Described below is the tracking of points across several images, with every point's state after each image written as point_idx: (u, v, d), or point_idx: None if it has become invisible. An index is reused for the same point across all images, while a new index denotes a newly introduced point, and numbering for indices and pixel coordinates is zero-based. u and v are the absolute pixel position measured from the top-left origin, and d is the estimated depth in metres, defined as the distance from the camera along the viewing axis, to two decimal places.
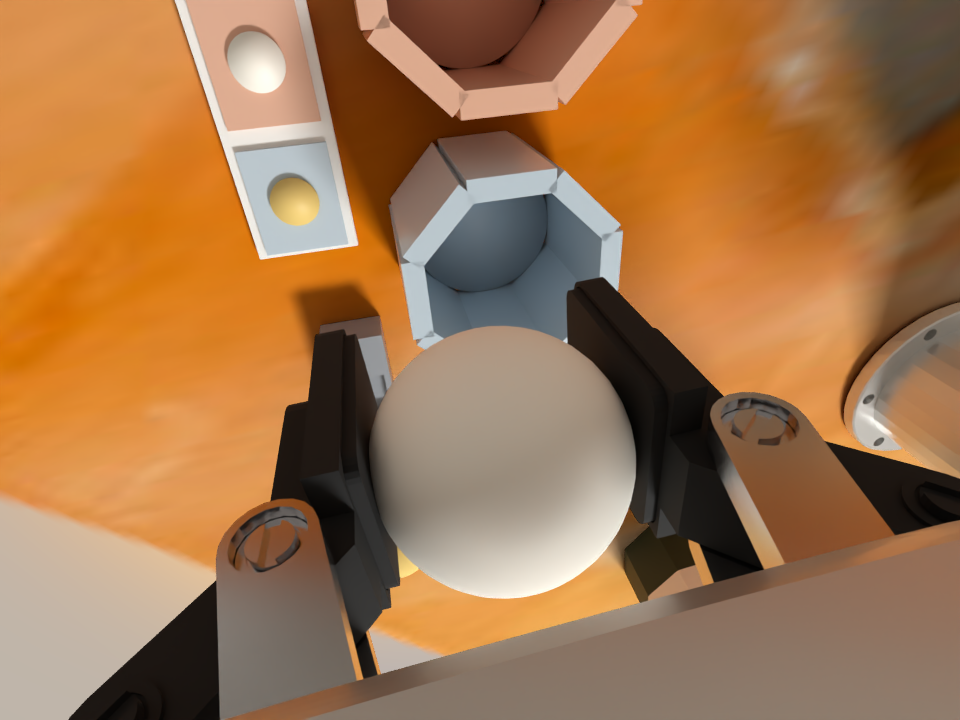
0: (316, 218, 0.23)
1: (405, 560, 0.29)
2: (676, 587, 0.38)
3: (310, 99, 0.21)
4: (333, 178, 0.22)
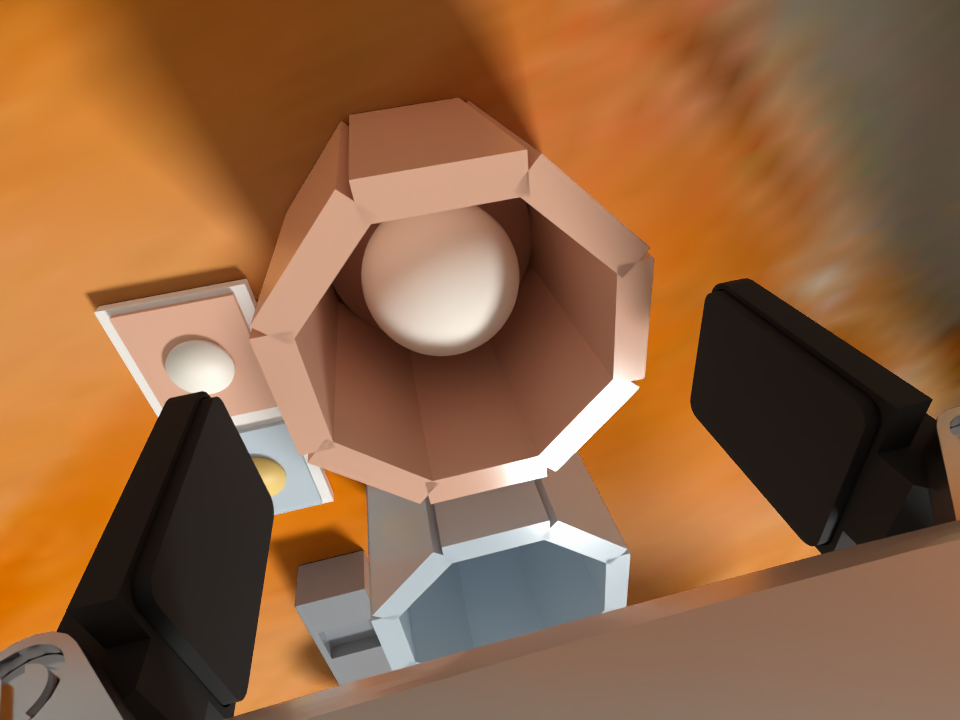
0: (283, 488, 0.20)
1: None
2: None
3: (266, 388, 0.18)
4: None
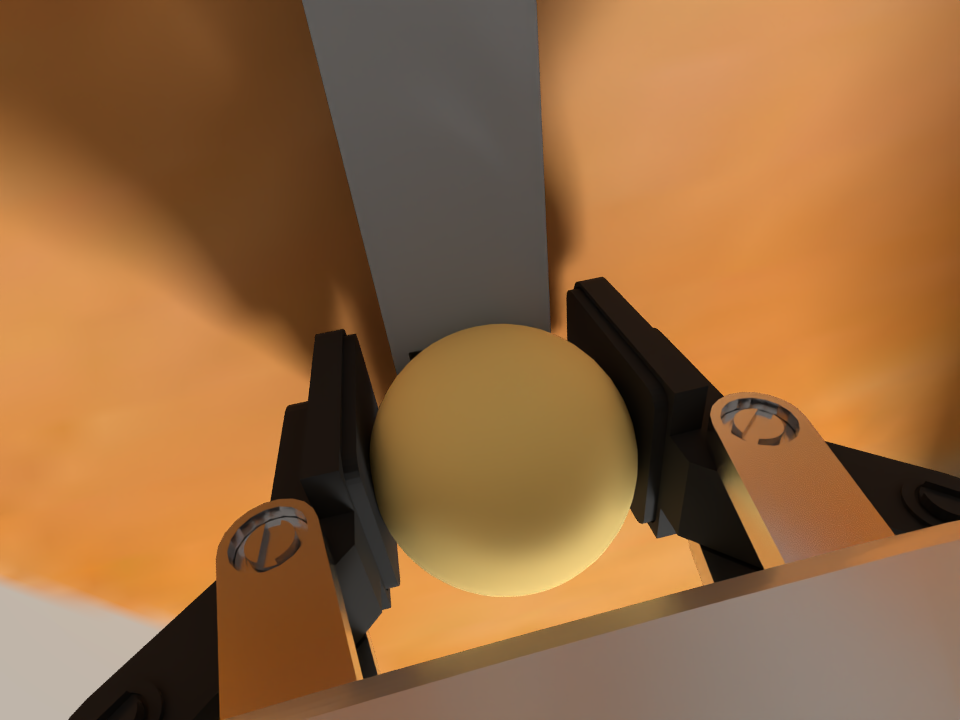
0: None
1: (571, 522, 0.07)
2: None
3: None
4: None
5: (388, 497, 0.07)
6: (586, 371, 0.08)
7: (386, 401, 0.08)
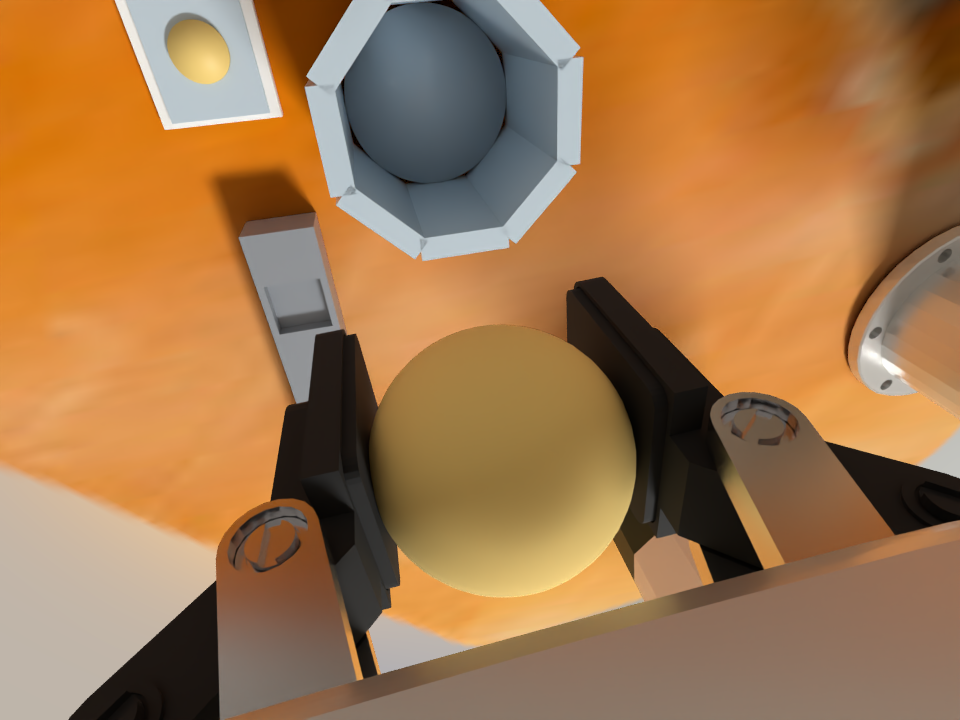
0: (227, 76, 0.19)
1: (569, 522, 0.07)
2: (664, 542, 0.34)
3: None
4: (245, 23, 0.19)
5: (387, 498, 0.08)
6: (584, 372, 0.08)
7: (385, 402, 0.08)
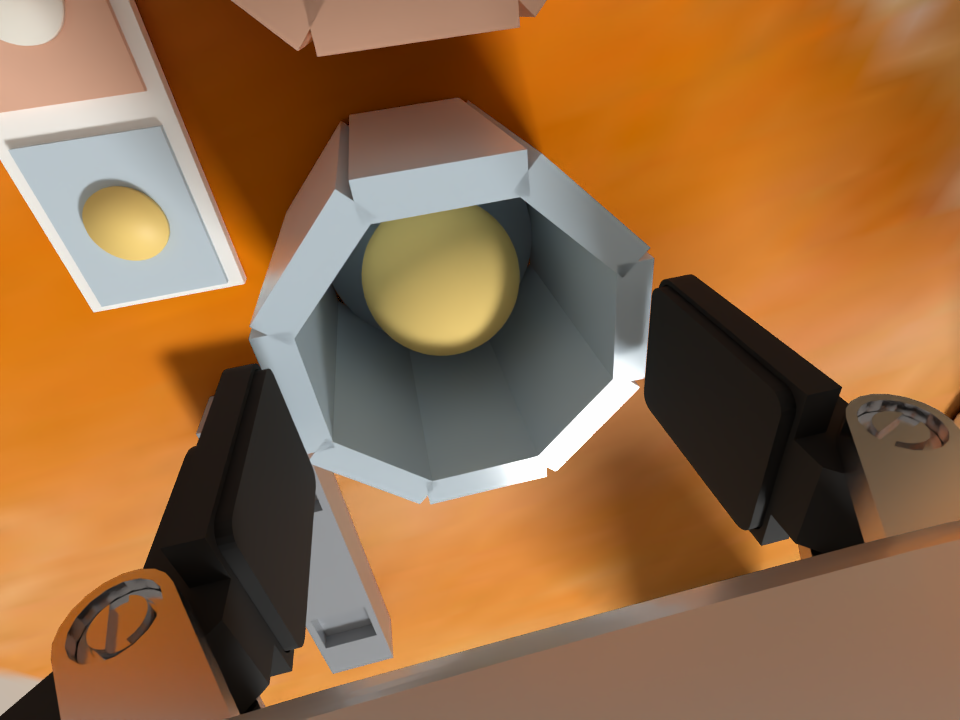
0: (168, 247, 0.15)
1: (469, 287, 0.13)
2: None
3: (119, 55, 0.12)
4: (185, 184, 0.14)
5: (371, 284, 0.13)
6: (484, 216, 0.14)
7: (371, 237, 0.14)
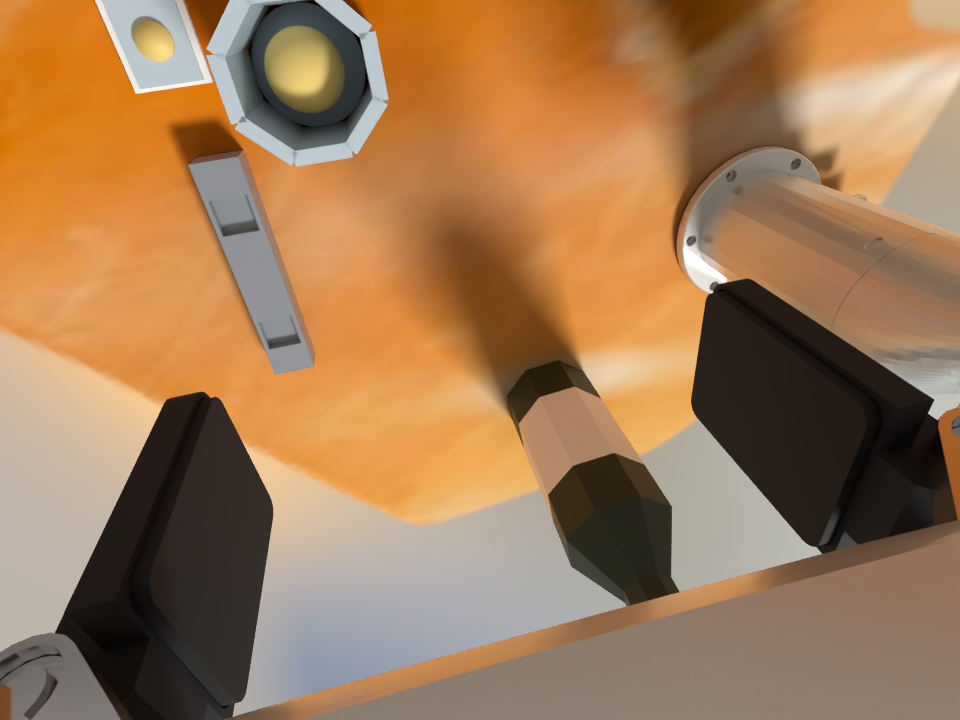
0: (173, 56, 0.30)
1: (306, 61, 0.28)
2: (537, 409, 0.45)
3: None
4: (182, 21, 0.29)
5: (265, 64, 0.29)
6: (319, 33, 0.29)
7: None
